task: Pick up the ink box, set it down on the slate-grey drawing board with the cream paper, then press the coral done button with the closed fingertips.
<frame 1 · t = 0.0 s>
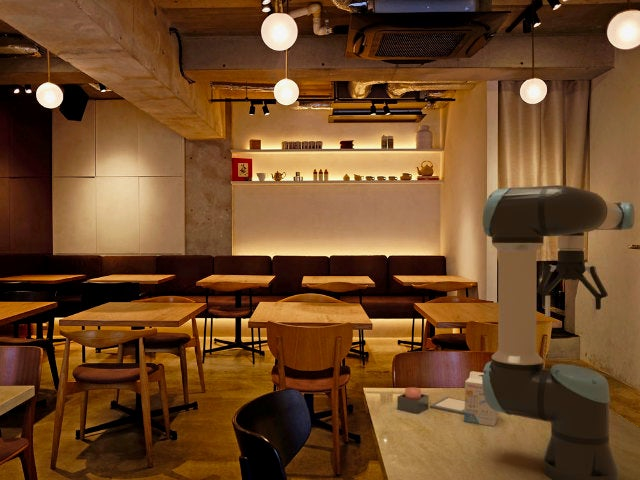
hand: (570, 318, 167), 28 cm above the table, fingers open, 13 cm apart
button housing: (413, 408, 166), on the table
done button: (413, 395, 166), point 4 cm above the table, slide at 0.0 cm
drawing board: (454, 406, 169), on the table
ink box: (481, 420, 156), on the table
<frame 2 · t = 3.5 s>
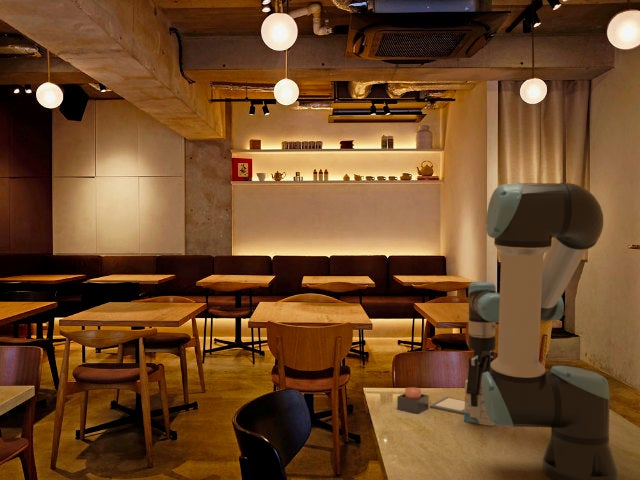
hand: (481, 412, 156), 2 cm above the table, fingers closed on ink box, 9 cm apart
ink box: (481, 420, 156), on the table, touching gripper
everything else where it was.
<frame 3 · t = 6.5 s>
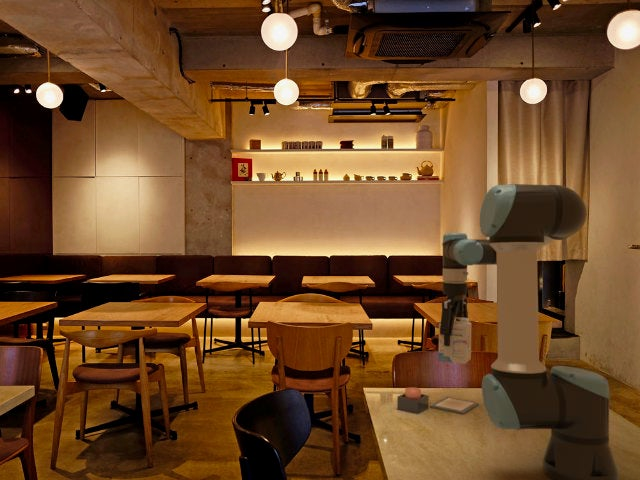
hand: (454, 353, 169), 17 cm above the table, fingers closed on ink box, 9 cm apart
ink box: (454, 360, 169), point 14 cm above the table, touching gripper
everything else where it was.
when the fingers open (4 cm above the table, at t = 9.1 s): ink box drops 1 cm, resting on drawing board.
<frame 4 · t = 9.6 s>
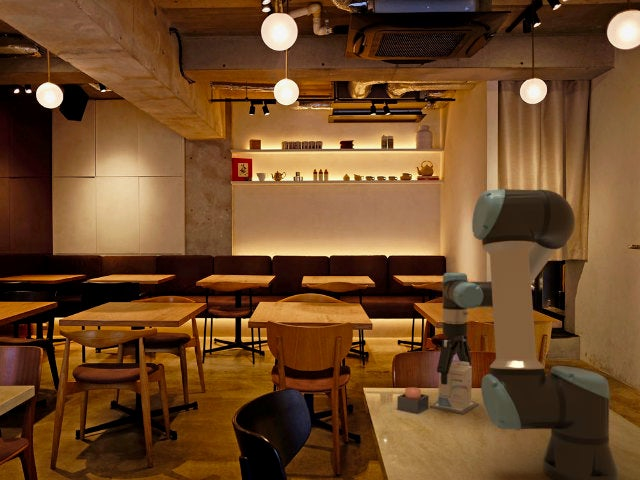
hand: (454, 389, 169), 5 cm above the table, fingers open, 13 cm apart
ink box: (454, 404, 169), resting on drawing board
everything else where it was.
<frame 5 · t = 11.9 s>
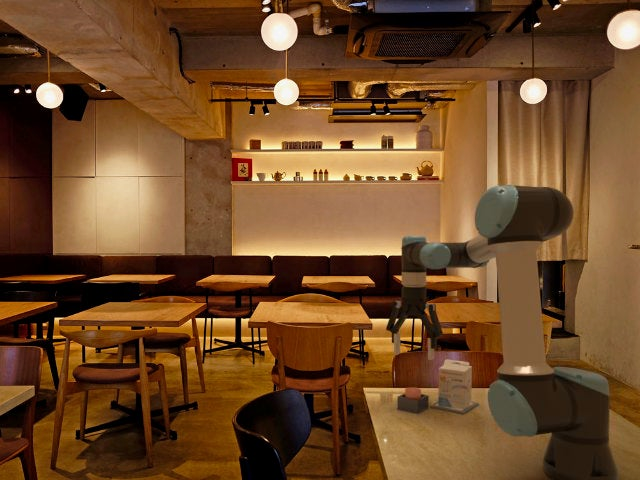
hand: (413, 356, 166), 16 cm above the table, fingers open, 11 cm apart
nothing on the table moved.
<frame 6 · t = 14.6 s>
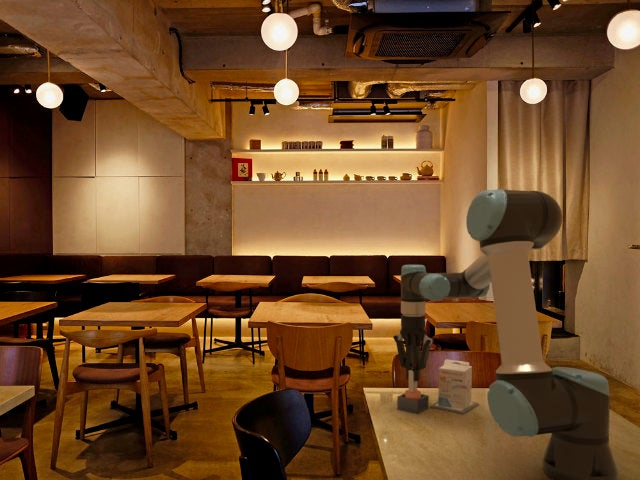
hand: (412, 390, 166), 6 cm above the table, fingers closed
done button: (413, 398, 166), point 3 cm above the table, slide at 0.7 cm, touching gripper
everything else where it was.
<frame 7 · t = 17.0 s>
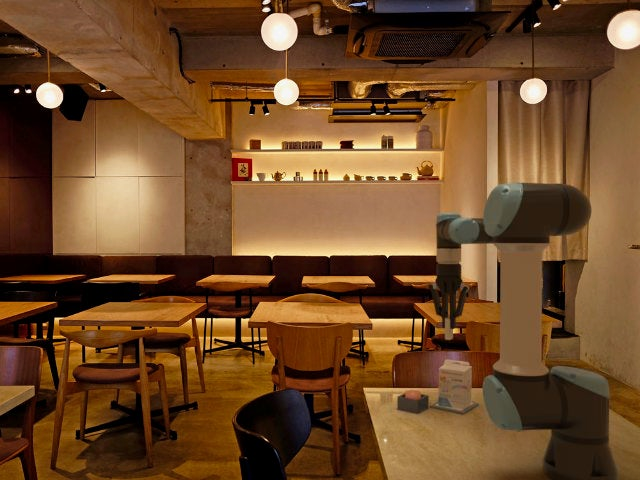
hand: (448, 339, 167), 22 cm above the table, fingers closed
done button: (413, 399, 166), point 3 cm above the table, slide at 0.9 cm
everything else where it was.
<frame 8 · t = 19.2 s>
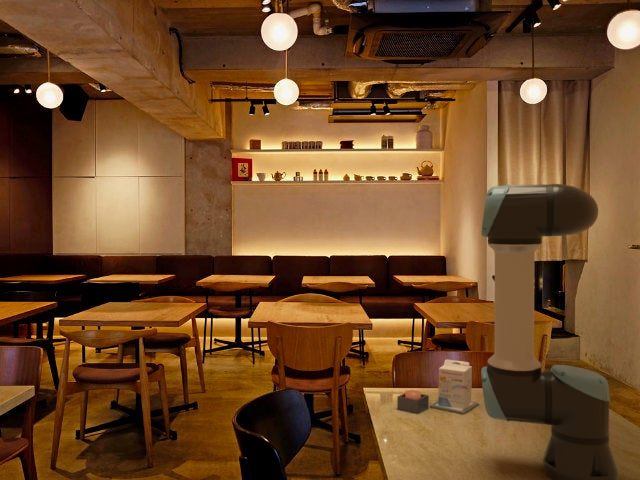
hand: (513, 328, 169), 24 cm above the table, fingers closed
nothing on the table moved.
at the end: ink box inside the target area on the drawing board (0.1 cm from its centre), point 0.5 cm above the drawing board's base; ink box tilted 0°; done button slide at 0.9 cm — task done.
